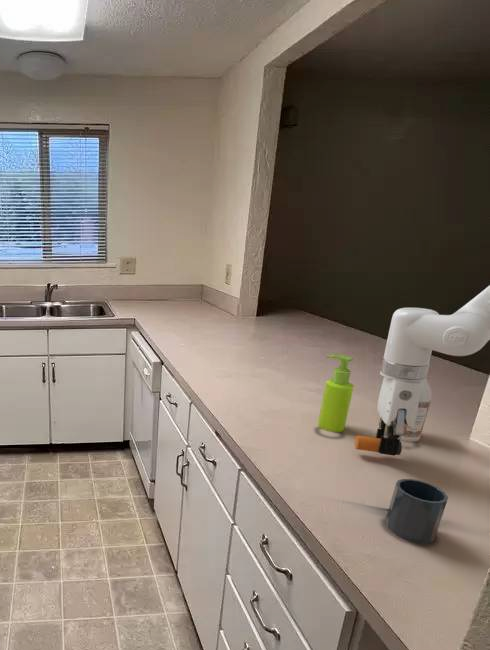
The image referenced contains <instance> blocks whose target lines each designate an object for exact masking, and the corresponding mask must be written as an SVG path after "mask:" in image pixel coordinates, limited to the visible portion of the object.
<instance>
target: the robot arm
mask: <svg viewBox="0 0 490 650" xmlns="http://www.w3.org/2000/svg"><path fill="white" fill-rule="evenodd" d="M489 341H490V284H488V286H487V287H485V289H483V290H482V291H481V292H480V293H478V294H477V295H476V296H475V297H473V298H472V299H470V300H469V301H468V302H467V303H465V304H464V305H463V306H462V307H460V308H458V310H457V311H455V312H453V313H452V314H440V313H439V312H437V310H433V309H430V308H424V307H423V308H422V307H401V308H398V309H396V310H395V311H394V312H393V314H392V317H391V321H390V325H389V330H388V335H387V340H386V344H385V348H384V349H385V350H384V354H383V358H382V363H381V368H380V371H379V372H380V373H379V374H380V376H382V377H383V378H382V379H383V380H382V384H381V387H380V391H379V395H378V400H377V406H376V409H377V412H378V414H379V417H380V418H379V420H378V421H379V422H378V428H377V430H376V435H375V438H380V439H381V441H380V446H379V450H378V452H377V453H379V454H381V455H385V456H386V455H387V456H393V457H394V456H397V455H396V454H397V450H398V446H399V442H400V441H401V440H400V439H401V435H403V433H404V422H405V424H406V425H407V427H408V428H410V429H412V428H413V427H414V425H415V421H416V416H417V410H418V405H419V399H420V391H421V382H422V381H424V380H425V377H426V378H427V376H426V373H427V374H428V372H427V369H428V365H429V364H430V360H431V357H432V351H434V352H437V353H441V354H444V355H448V356H454V357H465V356H466V357H467V356H470V355H473V354H475V353H477V352H478V351H481V349H482V348H484V346H485V345H486V344H487V343H488V342H489ZM429 366H430V365H429ZM428 370H429V369H428Z"/></svg>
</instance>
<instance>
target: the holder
mask: <svg viewBox="0 0 490 650" xmlns="http://www.w3.org/2000/svg"><path fill="white" fill-rule="evenodd" d="M394 485H395V486H394V489H393V492H392V496H391V500H390V503H389V506H388V510H387V515H386V518H385V525H386V527H387V528H388V530H390V531H391V532H392V533H393V534H395V535H396V536H398V537H399V538H402V539H404V540H406V541H410V542H413V543H418V544H419V543H420V544H428V543H429V544H430V543H432V542H433V541H434V540H435V539H436V536H437V533H438V530H439V527H440V525H441V521H442V518H443V515H444V513H445V508H446V506H447V503H448V500H449V496H448V495H447V493H446V492H445V491H444V490H442V488H439V487H438V486H436V485H434V484H432V483H429V482H426V481H423V480H419V479H414V478H402V479H398V480H397V481H396V482H395V484H394Z"/></svg>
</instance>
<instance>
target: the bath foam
mask: <svg viewBox="0 0 490 650" xmlns="http://www.w3.org/2000/svg"><path fill="white" fill-rule="evenodd" d="M430 366H431V364H430V363H429V365H428V369H427V373H426V377H425V380H424V381H422V382H421V391H420V399H419V405H418V410H417V416H416V421H415V425H414V427H413V428H412V429H410V428H408V427H407V425H406V424H405V422H404V433H403V435H401V439H400V441H403V442H410V443H411V442H418V441H420V439H421V436H422V432H423V430H424V425H425V422H426V419H427V415H428V412H429V408H430V405H431V401H432V388H431V387H430V384H429V382H428V379H427V376H428V372H429V368H430Z"/></svg>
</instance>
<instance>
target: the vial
mask: <svg viewBox="0 0 490 650" xmlns="http://www.w3.org/2000/svg"><path fill="white" fill-rule="evenodd" d="M380 441H381V439H380V438H376V437H370V436H363V435H356V437H355V439H354V448H355V450H359V451H360V450H361V451H367V452H374V453H379V452H378V450H379V446H380ZM402 449H403V444H402V440H400V442H399V446H398V450H397V454H396V455H395V456H400V455H401V453H402Z"/></svg>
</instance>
